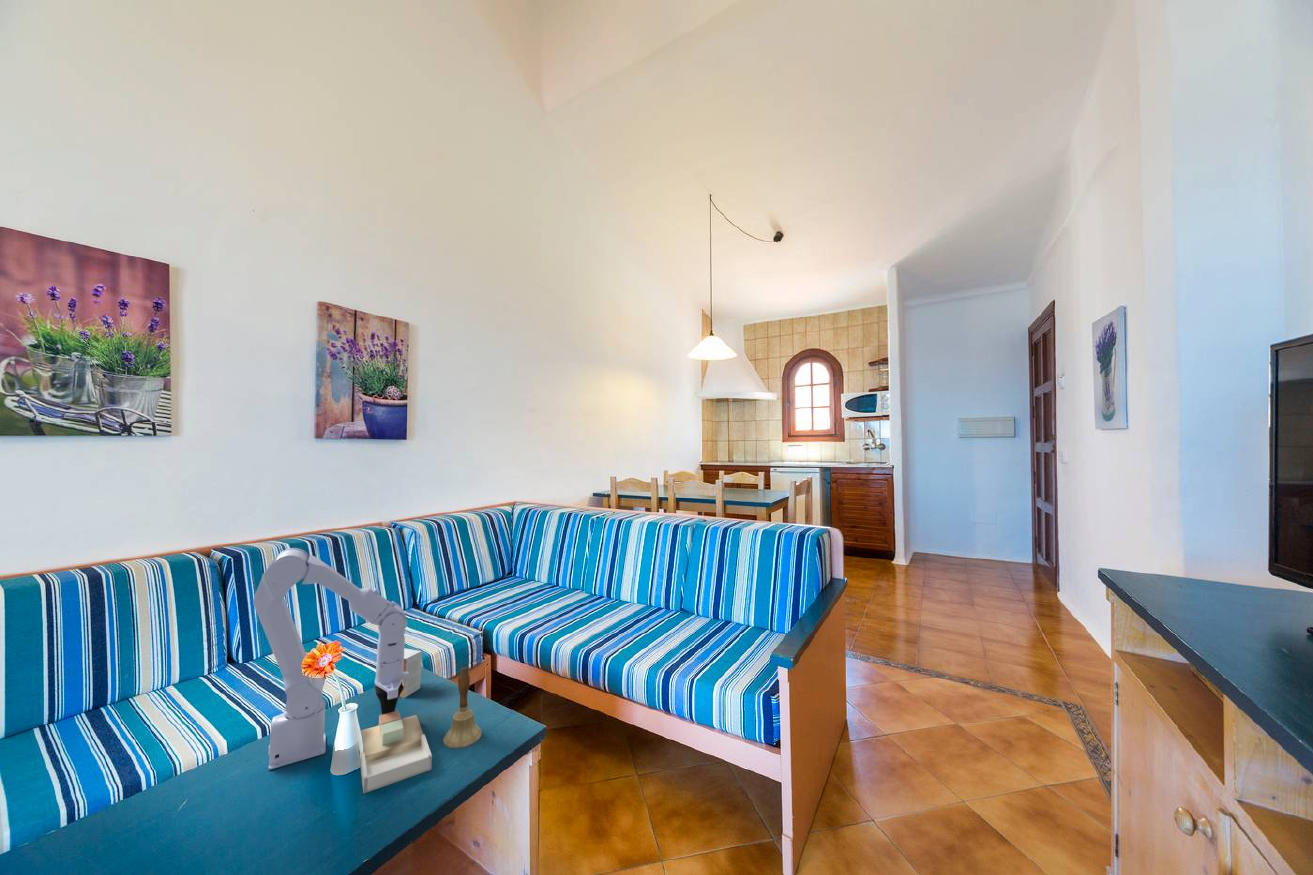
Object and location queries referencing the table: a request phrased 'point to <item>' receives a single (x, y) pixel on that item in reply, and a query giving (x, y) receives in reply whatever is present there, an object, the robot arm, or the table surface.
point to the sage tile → (391, 732)
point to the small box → (411, 671)
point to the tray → (395, 767)
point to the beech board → (410, 741)
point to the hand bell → (463, 719)
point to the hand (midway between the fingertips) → (387, 716)
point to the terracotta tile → (388, 718)
